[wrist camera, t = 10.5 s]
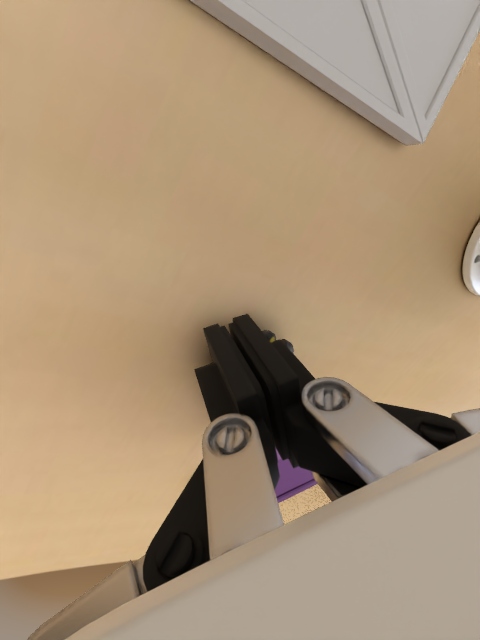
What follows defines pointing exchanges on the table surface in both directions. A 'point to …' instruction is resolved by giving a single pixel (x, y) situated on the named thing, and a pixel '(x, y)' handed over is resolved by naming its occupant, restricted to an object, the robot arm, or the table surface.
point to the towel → (291, 480)
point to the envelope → (366, 51)
